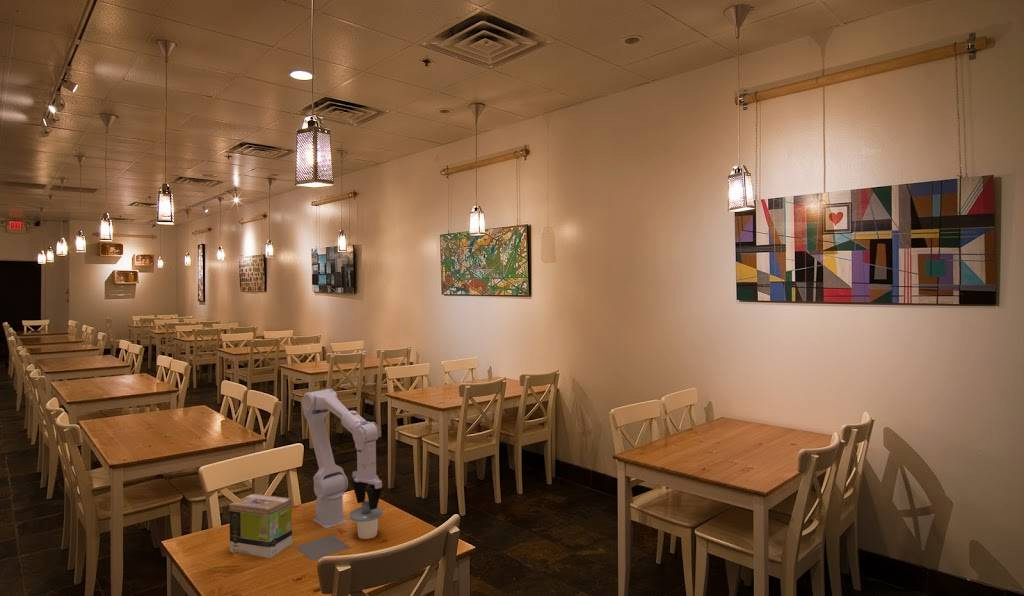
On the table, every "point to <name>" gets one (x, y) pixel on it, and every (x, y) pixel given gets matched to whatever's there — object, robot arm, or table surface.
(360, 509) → the lid
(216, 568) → the table surface
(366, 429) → the robot arm
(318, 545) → the mat
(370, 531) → the white cylinder
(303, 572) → the table surface
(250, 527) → the tea box
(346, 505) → the table surface
